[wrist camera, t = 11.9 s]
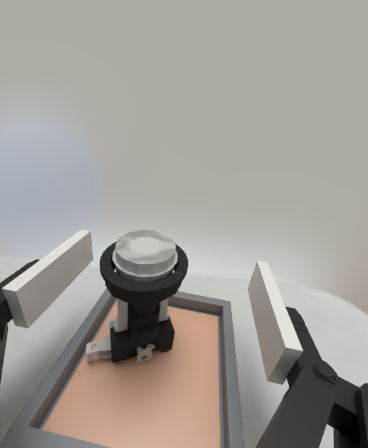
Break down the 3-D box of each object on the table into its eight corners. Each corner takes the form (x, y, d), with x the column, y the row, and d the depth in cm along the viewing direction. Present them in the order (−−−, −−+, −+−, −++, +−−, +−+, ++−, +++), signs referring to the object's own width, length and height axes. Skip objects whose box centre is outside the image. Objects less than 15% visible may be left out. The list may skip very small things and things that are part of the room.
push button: (87, 401, 13) (65, 290, 8) (88, 327, 17) (74, 227, 13) (181, 366, 16) (205, 267, 11) (162, 310, 20) (174, 221, 15)
